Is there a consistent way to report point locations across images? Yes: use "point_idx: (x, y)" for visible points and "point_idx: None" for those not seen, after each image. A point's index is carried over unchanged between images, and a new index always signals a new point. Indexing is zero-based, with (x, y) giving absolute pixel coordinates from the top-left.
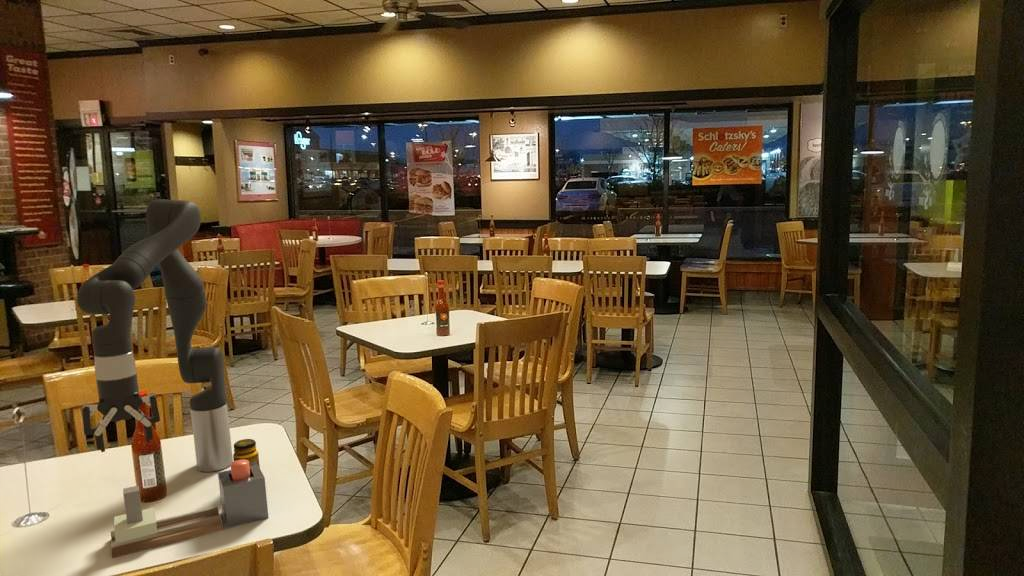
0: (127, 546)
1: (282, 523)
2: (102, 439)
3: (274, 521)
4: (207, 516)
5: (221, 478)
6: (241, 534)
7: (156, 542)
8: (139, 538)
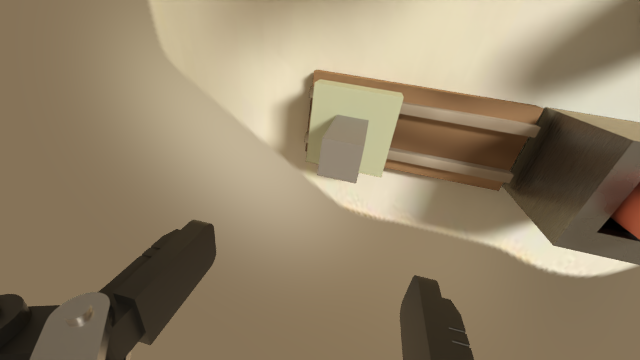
0: None
1: None
2: (166, 319)
3: None
4: (497, 140)
5: (599, 193)
6: (504, 222)
7: None
8: None
